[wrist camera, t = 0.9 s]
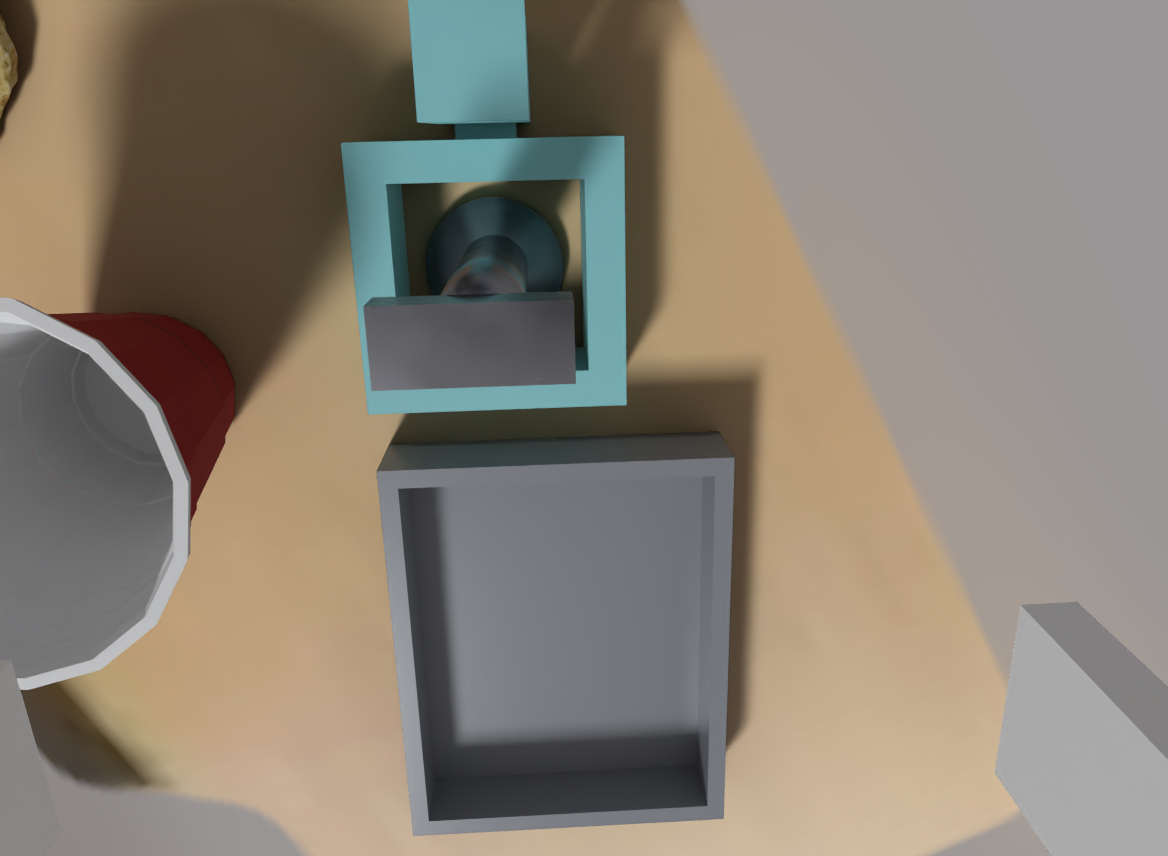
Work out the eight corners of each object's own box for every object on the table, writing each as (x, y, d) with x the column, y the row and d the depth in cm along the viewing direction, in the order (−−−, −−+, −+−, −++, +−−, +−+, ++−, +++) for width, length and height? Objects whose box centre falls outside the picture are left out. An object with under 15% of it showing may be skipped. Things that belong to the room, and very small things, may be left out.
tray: (389, 444, 36) (376, 471, 33) (718, 431, 36) (734, 457, 33) (421, 786, 41) (413, 835, 38) (710, 771, 41) (723, 818, 38)
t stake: (422, 198, 33) (352, 239, 20) (560, 194, 33) (576, 233, 20) (432, 334, 34) (373, 451, 22) (565, 330, 35) (581, 443, 22)
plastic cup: (194, 183, 32) (8, 211, 21) (356, 437, 35) (271, 583, 24) (-57, 323, 33) (-365, 423, 22) (122, 558, 36) (-64, 752, 25)
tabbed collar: (350, 33, 31) (290, 2, 23) (613, 28, 31) (639, -5, 24) (383, 387, 35) (341, 458, 27) (618, 379, 35) (640, 447, 28)
